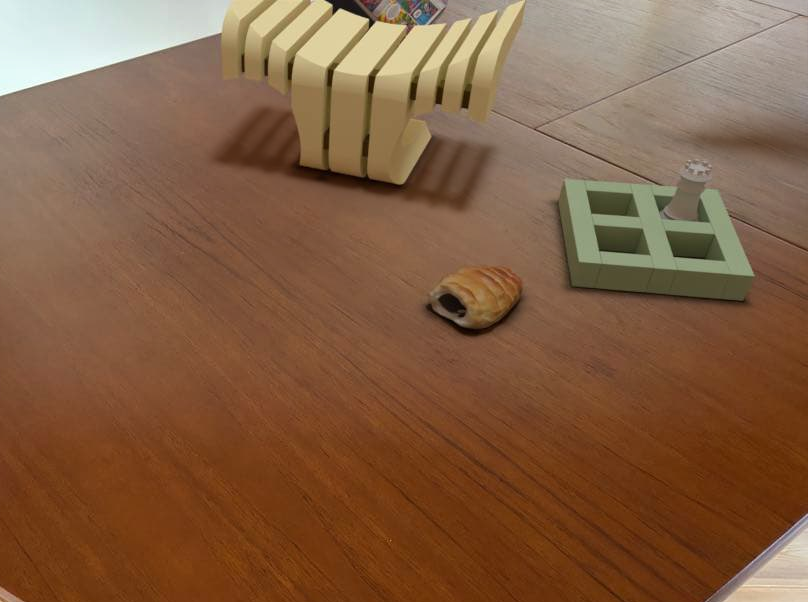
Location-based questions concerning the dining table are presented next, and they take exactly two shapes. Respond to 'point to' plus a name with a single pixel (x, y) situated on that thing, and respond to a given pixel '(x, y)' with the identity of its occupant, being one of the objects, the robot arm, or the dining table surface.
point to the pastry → (476, 295)
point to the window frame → (650, 242)
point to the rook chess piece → (688, 192)
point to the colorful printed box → (394, 11)
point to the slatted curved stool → (366, 77)
